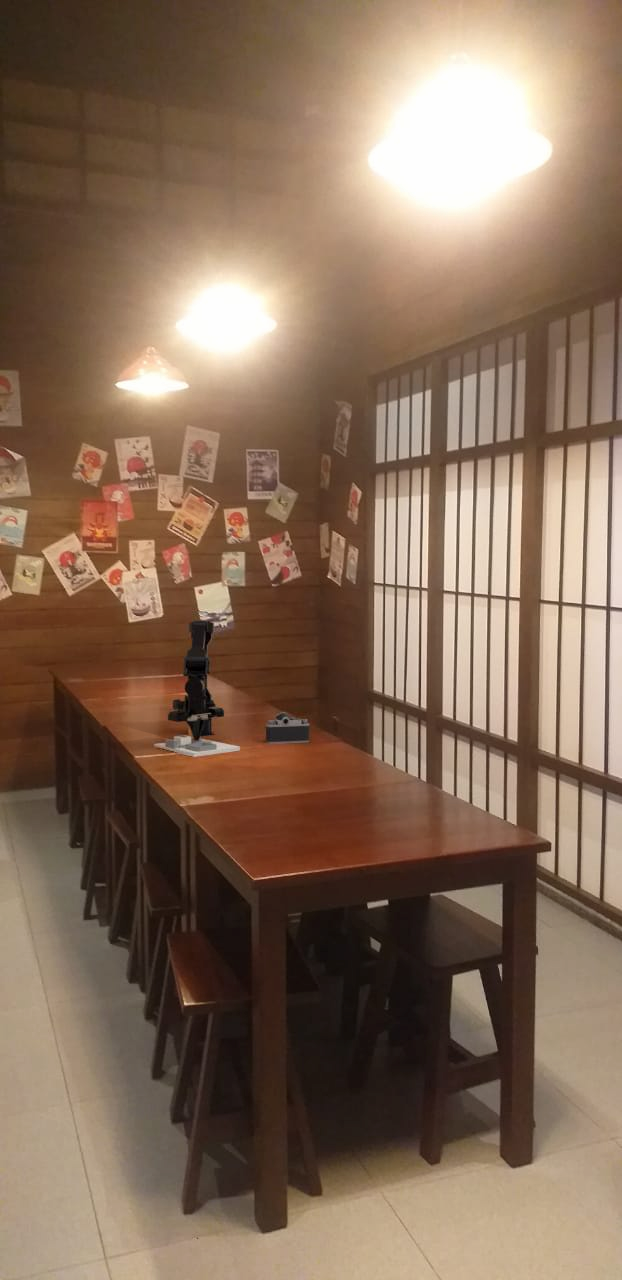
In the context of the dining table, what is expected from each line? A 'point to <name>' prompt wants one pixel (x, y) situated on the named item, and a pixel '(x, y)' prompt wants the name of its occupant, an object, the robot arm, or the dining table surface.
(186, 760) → the dining table surface
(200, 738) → the cap
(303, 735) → the camera
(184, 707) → the robot arm
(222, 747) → the board
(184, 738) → the block
